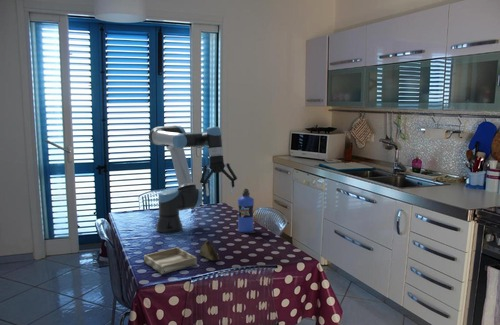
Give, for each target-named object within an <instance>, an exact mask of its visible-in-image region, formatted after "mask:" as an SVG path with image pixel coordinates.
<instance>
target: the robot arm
mask: <svg viewBox="0 0 500 325" xmlns="http://www.w3.org/2000/svg"><path fill="white" fill-rule="evenodd" d="M148 139H149V142H151V143H152V144H153V145H155V146H165V147H166V149H167V150H168V151H169V153H170V157H171V159H172V164H173V169H174V173H175V176H176V181H177V185H178V186H177V188H170V189H169V188H168V189H165V190H162V191H160V193H159V194H158V200H157V201H158V213H159V214H158V216H159V217H158V220H157V224H156V226H155V227H156V231H157V232H159V233H162V234H170V233H177V232H179V231H181V230H183V223H182V222H181V218H180V217H181V216H180V211H183V210H189V209H190V210H191V209H193V210H194V208H198V207H200V206H201V205H202V201H203V193H202V192H203V191H202V190H201V189H200V188H198V187H197V186H196V184H195V183H193V181H192V176H191V173H190V172H191V171H190V169H189V168H190V167H189V165H188V160H187V157H186V152H185V149H184V148H196V147H197V148H198V147H199V148H200V147H207V148H208V155H209V157H208V158H209V165H204V166H203V168H204V169H203V172H202V176H201V178H200V181H199V182H200V184H203V189H204V190H205V194H206V197H208V196H210V190H209V183H208V181H209V180H210V178H211V176H212V175H213V174H214V173H215V174H217V173H222V174H224V175H225V176H226V177H227V178H228V180H230V181H229V185H230V194H231V195H233V194H234V188H235V181H237V180H238V177H237V176H236V174H235V172H234V170H233V169H232V167H231V163H224V162H225V161H224V155H223V154H224V151H223V143H222V140H223V139H222V133H221V128H220V127H219V126H212V127H211V126H209V127H207V128H206V131H205V132H196V133H195V132H194V133H192V132H191V133H187V132H186V130H185V129H184V127H183V126H181V125H167V126H165V125H164V126H156V127H155V126H154V128H152V129H151V130H150V131H149V134H148ZM225 168H227V170H228V171H226V169H225ZM209 169H210V171H209V174H208V175H207V173H208V170H209ZM228 172H229V173H230V174H229V173H228Z"/></svg>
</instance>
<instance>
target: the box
mask: <svg viewBox="0 0 500 325" xmlns="http://www.w3.org/2000/svg"><path fill="white" fill-rule="evenodd" d="M143 259H144V260H143V263H144V264H146V265H147V266H149V268H152V269H153V270H155V271H156V272H158V273H159V274H161V275H164V274H168V273H171V272H172V273H173V272H175V271H179V270H182V269H186V268H190V267H193V266H196V265H197V261H198V260H197V259H198V258H197V256H195V255H193V254H191V253H189V252H188V251H186V250H185V249H182V248H180V247H179V246H177V247H173V248H171V247H170V248H168V249H164V250H159V251H156V252H152V253H147V254H144V255H143ZM153 266H154V267H153ZM164 271H165V272H164Z"/></svg>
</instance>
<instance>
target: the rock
mask: <svg viewBox="0 0 500 325" xmlns="http://www.w3.org/2000/svg"><path fill="white" fill-rule="evenodd" d="M199 255H200V256H201V257H204V258H206V259H207V260H209V261H218V260H219V261H220V257H219V254H218V253H217V251H216V250H215V247H214V246H213V244H212V243H211V242H210V240H209V239H207V240H206V241H205V242H203V244H202V245H201V247H200V249H199Z"/></svg>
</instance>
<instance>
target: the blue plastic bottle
mask: <svg viewBox="0 0 500 325" xmlns="http://www.w3.org/2000/svg"><path fill="white" fill-rule="evenodd" d="M241 195H242V196H240V197H239V198H237V205H238V215H237V216H238V217H237V218H238V219H237V220H238V222H237V223H238V224H237V231H238V232H239V233H247V234H248V233H252V232H254V211H253V210H254V206H255V205H254V204H255V199H254V197H251V196H250V195H251V194H250V190H249V189H248V188H244V189H243V190H242V193H241Z"/></svg>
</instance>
